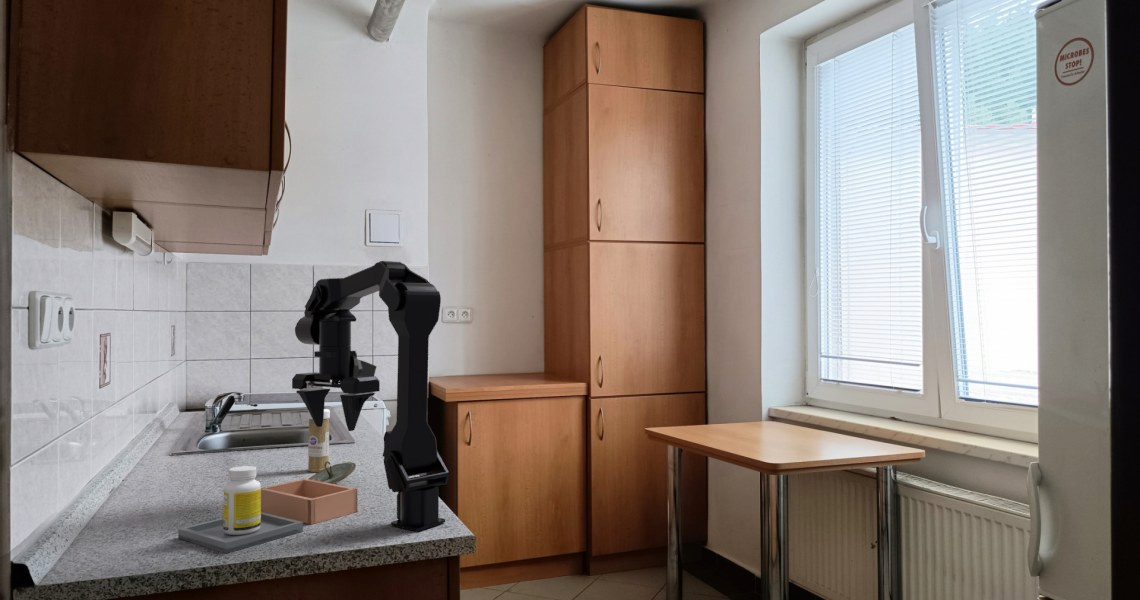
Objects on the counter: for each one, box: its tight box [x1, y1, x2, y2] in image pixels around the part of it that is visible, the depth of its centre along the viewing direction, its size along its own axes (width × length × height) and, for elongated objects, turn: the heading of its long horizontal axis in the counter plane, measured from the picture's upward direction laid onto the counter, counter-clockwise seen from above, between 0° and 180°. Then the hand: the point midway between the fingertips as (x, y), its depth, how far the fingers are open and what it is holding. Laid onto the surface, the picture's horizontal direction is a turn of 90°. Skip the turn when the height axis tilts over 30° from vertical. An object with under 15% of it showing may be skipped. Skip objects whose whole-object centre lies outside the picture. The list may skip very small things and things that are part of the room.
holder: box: [261, 478, 358, 525], centre depth 132 cm, size 15×10×4 cm, turn 56°
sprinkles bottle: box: [307, 408, 331, 473], centre depth 166 cm, size 5×5×13 cm
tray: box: [177, 512, 304, 554], centre depth 118 cm, size 13×13×2 cm
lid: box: [308, 461, 357, 485], centre depth 152 cm, size 11×10×5 cm
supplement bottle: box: [222, 465, 262, 535], centre depth 118 cm, size 5×5×10 cm
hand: (335, 428), depth 142 cm, fingers open, 9 cm apart
